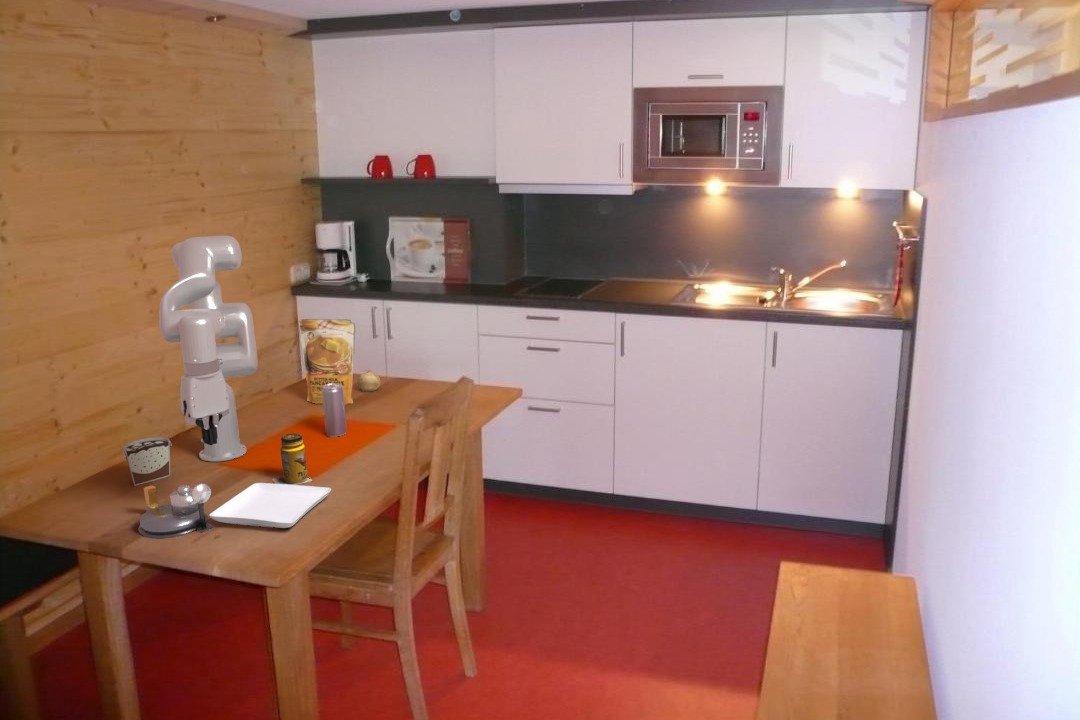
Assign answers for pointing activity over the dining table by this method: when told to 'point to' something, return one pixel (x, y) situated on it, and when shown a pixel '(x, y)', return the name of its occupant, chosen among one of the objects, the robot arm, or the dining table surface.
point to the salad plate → (270, 505)
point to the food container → (148, 459)
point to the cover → (183, 501)
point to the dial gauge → (201, 504)
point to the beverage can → (334, 409)
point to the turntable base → (169, 534)
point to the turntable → (164, 516)
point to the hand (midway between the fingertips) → (210, 443)
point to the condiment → (293, 461)
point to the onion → (369, 381)
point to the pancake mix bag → (327, 355)
